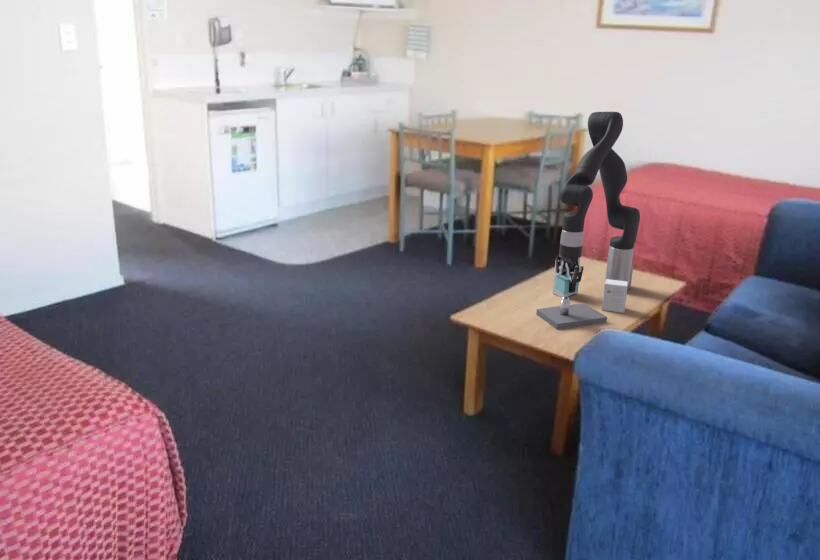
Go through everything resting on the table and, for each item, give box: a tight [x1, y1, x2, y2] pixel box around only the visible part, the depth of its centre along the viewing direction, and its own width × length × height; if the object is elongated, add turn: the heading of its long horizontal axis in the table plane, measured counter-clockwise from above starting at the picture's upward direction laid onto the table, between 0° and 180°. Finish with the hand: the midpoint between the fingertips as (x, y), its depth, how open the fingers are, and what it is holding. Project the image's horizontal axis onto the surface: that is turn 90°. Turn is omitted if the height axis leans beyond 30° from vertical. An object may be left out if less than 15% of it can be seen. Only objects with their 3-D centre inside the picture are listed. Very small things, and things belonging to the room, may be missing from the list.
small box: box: [601, 279, 628, 314], centre depth 250 cm, size 8×6×10 cm
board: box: [535, 302, 608, 330], centre depth 242 cm, size 20×14×2 cm
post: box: [560, 296, 571, 315], centre depth 240 cm, size 3×3×6 cm
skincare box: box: [551, 257, 581, 298], centre depth 263 cm, size 8×6×15 cm
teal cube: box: [555, 274, 580, 294], centre depth 237 cm, size 6×6×5 cm
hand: (566, 289), depth 238 cm, fingers closed on teal cube, 5 cm apart
